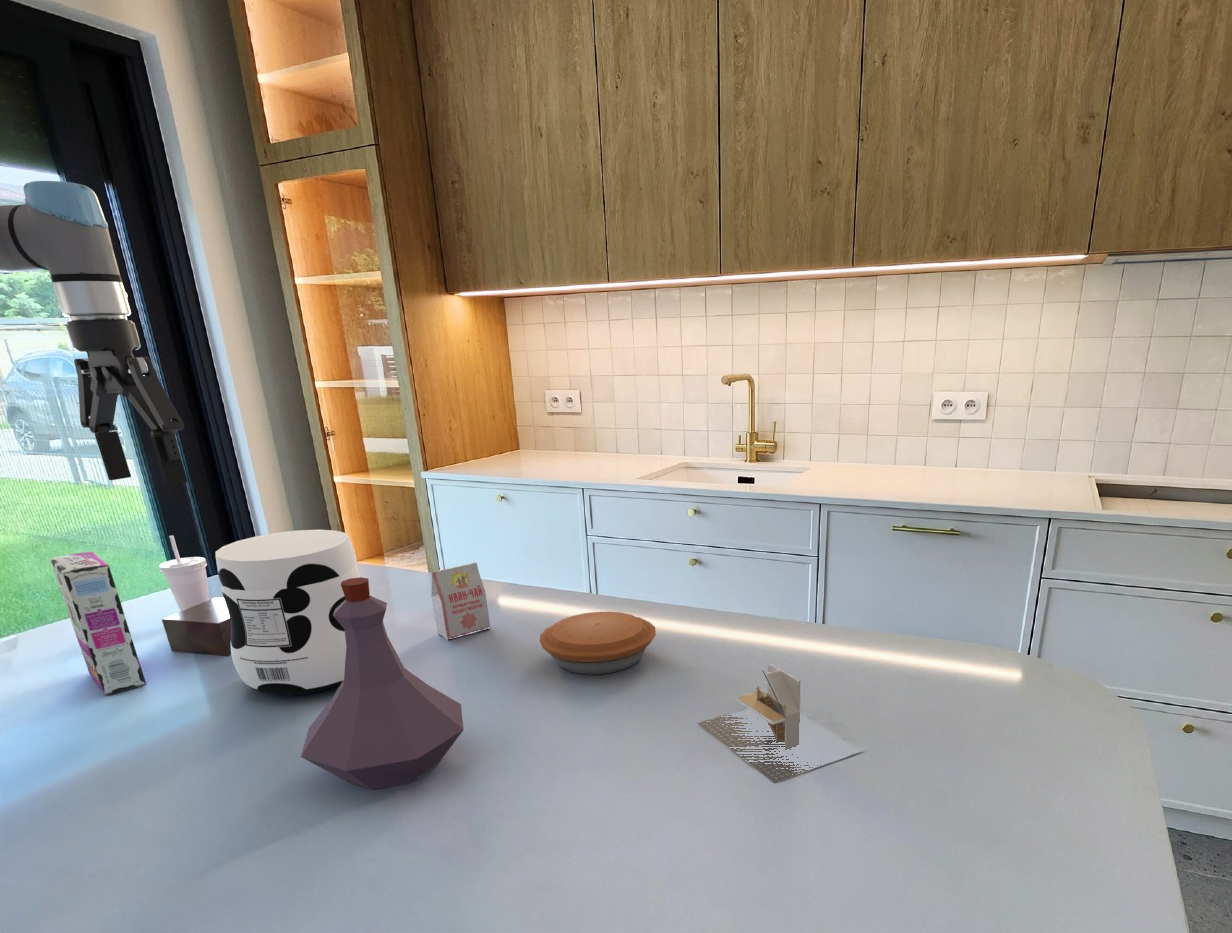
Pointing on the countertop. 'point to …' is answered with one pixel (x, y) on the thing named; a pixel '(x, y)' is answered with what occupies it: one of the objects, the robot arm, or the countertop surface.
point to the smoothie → (186, 579)
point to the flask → (379, 706)
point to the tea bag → (459, 601)
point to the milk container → (287, 608)
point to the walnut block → (200, 629)
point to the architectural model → (781, 717)
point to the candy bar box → (98, 621)
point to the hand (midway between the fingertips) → (147, 481)
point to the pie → (597, 641)
